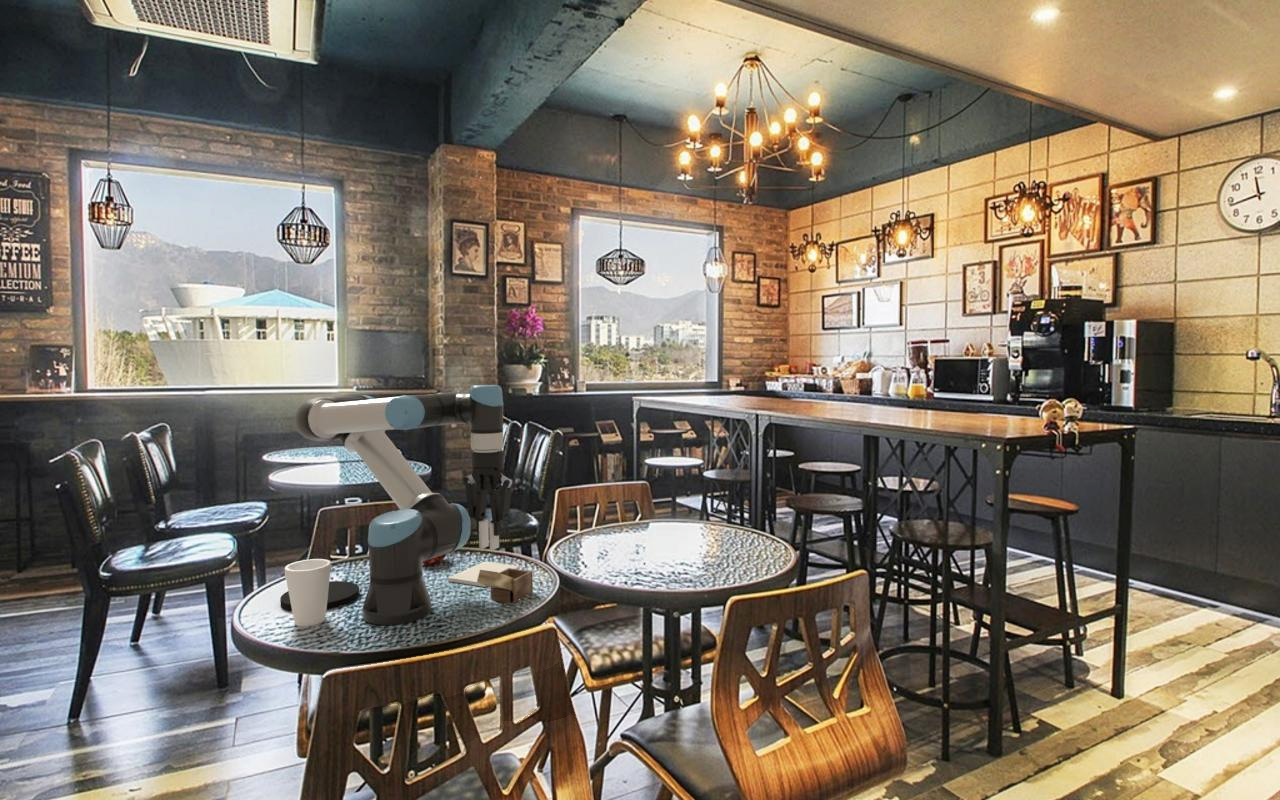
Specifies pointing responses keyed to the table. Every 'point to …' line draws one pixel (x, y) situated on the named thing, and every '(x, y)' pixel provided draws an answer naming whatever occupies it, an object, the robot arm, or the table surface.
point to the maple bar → (495, 580)
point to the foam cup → (308, 590)
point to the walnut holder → (514, 586)
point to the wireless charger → (331, 595)
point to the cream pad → (472, 573)
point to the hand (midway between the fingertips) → (489, 547)
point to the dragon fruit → (434, 560)
